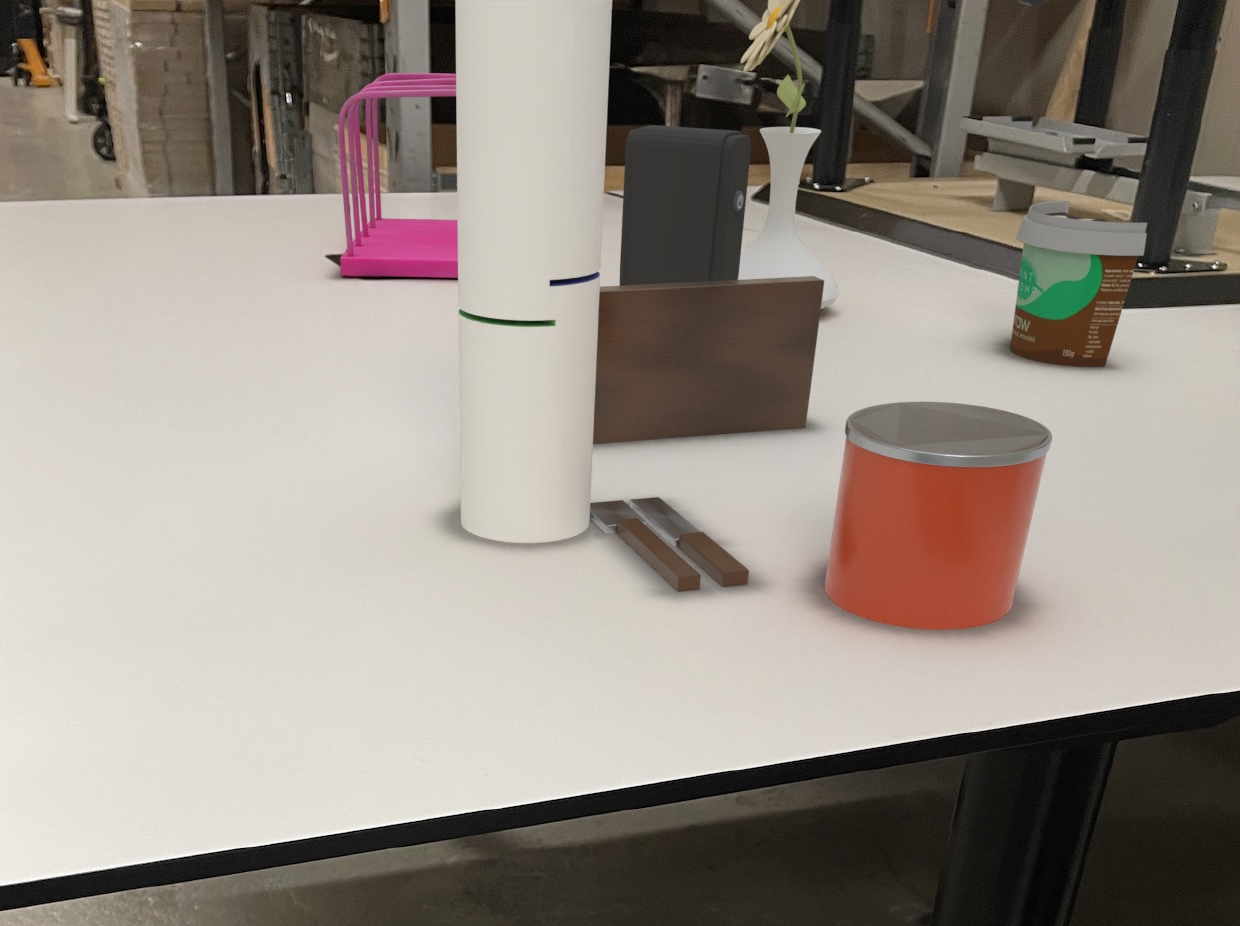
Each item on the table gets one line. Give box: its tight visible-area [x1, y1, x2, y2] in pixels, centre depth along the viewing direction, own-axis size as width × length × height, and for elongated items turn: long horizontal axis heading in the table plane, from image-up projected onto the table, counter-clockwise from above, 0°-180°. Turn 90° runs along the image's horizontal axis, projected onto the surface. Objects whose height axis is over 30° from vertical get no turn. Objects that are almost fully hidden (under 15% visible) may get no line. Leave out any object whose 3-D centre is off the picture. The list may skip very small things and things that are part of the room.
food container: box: [1009, 200, 1148, 368], centre depth 109 cm, size 12×6×10 cm, turn 10°
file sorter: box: [337, 72, 458, 279], centre depth 141 cm, size 17×25×16 cm
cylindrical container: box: [454, 0, 613, 544], centre depth 71 cm, size 7×7×25 cm
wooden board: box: [593, 276, 824, 445], centre depth 90 cm, size 16×2×9 cm, turn 106°
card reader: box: [618, 124, 752, 286], centre depth 109 cm, size 9×4×15 cm, turn 57°
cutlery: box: [590, 496, 750, 593], centre depth 75 cm, size 13×5×1 cm, turn 16°
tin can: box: [824, 401, 1053, 631], centre depth 67 cm, size 9×9×8 cm
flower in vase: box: [738, 0, 840, 310], centre depth 116 cm, size 13×11×25 cm
